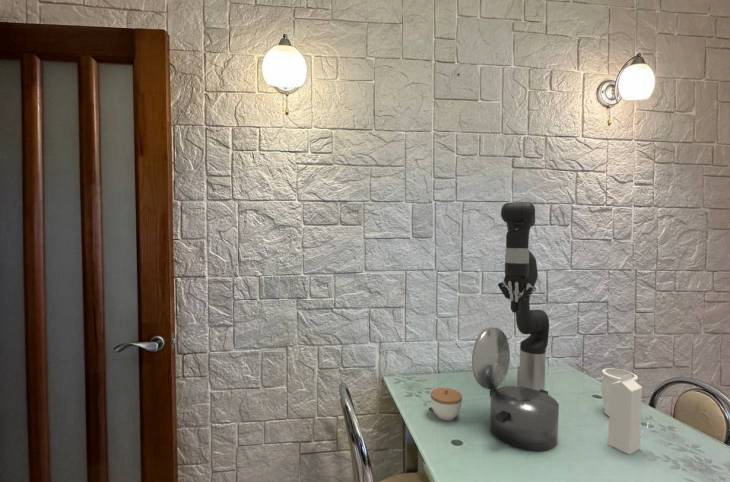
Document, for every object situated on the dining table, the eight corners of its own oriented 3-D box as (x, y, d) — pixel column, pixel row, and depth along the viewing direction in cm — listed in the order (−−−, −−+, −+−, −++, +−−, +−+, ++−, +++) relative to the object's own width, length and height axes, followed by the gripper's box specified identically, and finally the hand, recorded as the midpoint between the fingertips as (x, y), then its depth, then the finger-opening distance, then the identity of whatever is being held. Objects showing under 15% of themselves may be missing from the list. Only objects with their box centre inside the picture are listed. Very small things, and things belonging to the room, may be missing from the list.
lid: (477, 397, 123) (470, 394, 126) (511, 380, 136) (504, 379, 139) (474, 333, 124) (467, 332, 126) (508, 323, 137) (501, 322, 139)
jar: (642, 424, 129) (644, 380, 128) (608, 421, 131) (609, 378, 130) (627, 409, 139) (628, 368, 138) (595, 406, 141) (597, 366, 140)
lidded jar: (443, 426, 126) (444, 399, 126) (424, 412, 136) (424, 386, 135) (468, 419, 131) (468, 392, 131) (447, 406, 141) (448, 381, 140)
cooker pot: (466, 433, 122) (467, 399, 122) (513, 406, 140) (514, 377, 140) (531, 465, 106) (532, 427, 106) (574, 431, 124) (575, 397, 124)
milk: (639, 449, 114) (643, 377, 113) (629, 455, 111) (632, 380, 110) (618, 439, 120) (621, 369, 119) (607, 444, 117) (610, 373, 116)
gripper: (541, 262, 126) (540, 314, 127) (504, 259, 137) (503, 307, 137) (530, 263, 122) (528, 317, 122) (493, 260, 132) (492, 310, 133)
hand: (515, 312), depth 130 cm, fingers closed
